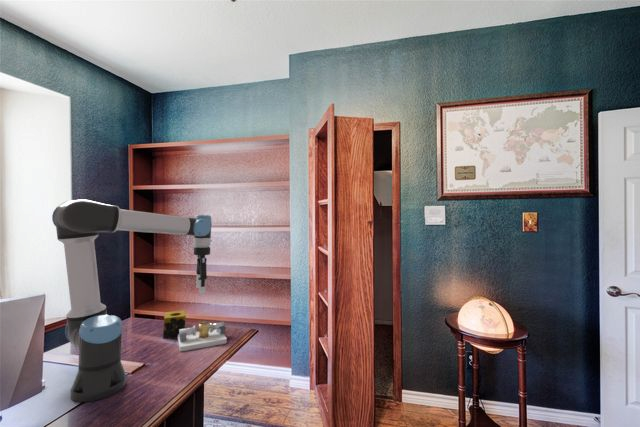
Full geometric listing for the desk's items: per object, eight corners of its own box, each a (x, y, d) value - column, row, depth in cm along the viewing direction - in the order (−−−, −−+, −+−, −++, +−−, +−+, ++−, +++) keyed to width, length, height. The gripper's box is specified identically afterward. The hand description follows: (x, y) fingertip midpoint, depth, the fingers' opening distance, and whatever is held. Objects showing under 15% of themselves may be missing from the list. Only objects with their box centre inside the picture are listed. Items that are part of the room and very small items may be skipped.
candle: (163, 331, 153) (164, 312, 153) (185, 328, 157) (185, 309, 158) (162, 338, 144) (163, 318, 144) (185, 335, 148) (185, 315, 148)
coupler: (199, 338, 139) (199, 324, 140) (197, 335, 143) (198, 321, 144) (209, 337, 142) (209, 323, 142) (207, 333, 146) (208, 320, 146)
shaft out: (212, 336, 142) (212, 324, 142) (208, 333, 146) (208, 321, 146) (225, 333, 147) (226, 321, 147) (221, 330, 150) (221, 319, 151)
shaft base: (179, 351, 130) (180, 333, 130) (177, 338, 144) (178, 322, 144) (226, 343, 140) (227, 326, 140) (220, 331, 154) (220, 316, 154)
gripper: (214, 248, 135) (212, 295, 135) (207, 244, 158) (205, 284, 157) (196, 248, 132) (194, 297, 131) (191, 244, 154) (190, 286, 153)
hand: (200, 290), depth 144 cm, fingers open, 13 cm apart
